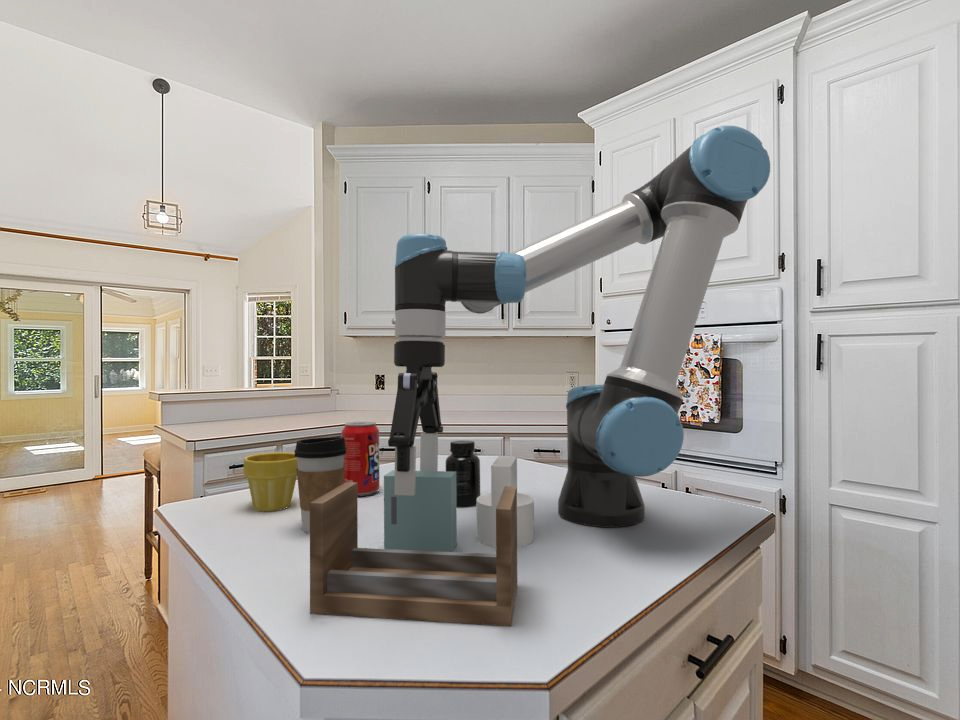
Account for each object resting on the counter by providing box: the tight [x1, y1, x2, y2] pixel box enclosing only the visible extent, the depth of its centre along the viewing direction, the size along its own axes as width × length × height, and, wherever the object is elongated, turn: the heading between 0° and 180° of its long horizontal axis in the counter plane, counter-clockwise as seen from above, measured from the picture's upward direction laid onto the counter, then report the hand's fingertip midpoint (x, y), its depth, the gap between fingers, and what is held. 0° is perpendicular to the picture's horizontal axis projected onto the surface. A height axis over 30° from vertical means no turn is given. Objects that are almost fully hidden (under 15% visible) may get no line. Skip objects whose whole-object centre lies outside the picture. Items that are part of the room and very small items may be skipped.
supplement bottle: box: [445, 440, 481, 508], centre depth 100 cm, size 7×7×12 cm
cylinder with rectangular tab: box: [475, 455, 535, 548], centre depth 79 cm, size 9×9×12 cm
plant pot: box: [243, 451, 298, 512], centre depth 98 cm, size 10×10×10 cm
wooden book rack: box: [309, 482, 518, 627], centre depth 59 cm, size 22×10×12 cm, turn 82°
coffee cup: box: [293, 436, 347, 534], centre depth 85 cm, size 8×8×15 cm
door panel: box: [383, 469, 458, 552], centre depth 75 cm, size 10×4×11 cm, turn 82°
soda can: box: [340, 421, 380, 497], centre depth 108 cm, size 8×8×15 cm
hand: (417, 483), depth 75 cm, fingers open, 13 cm apart
